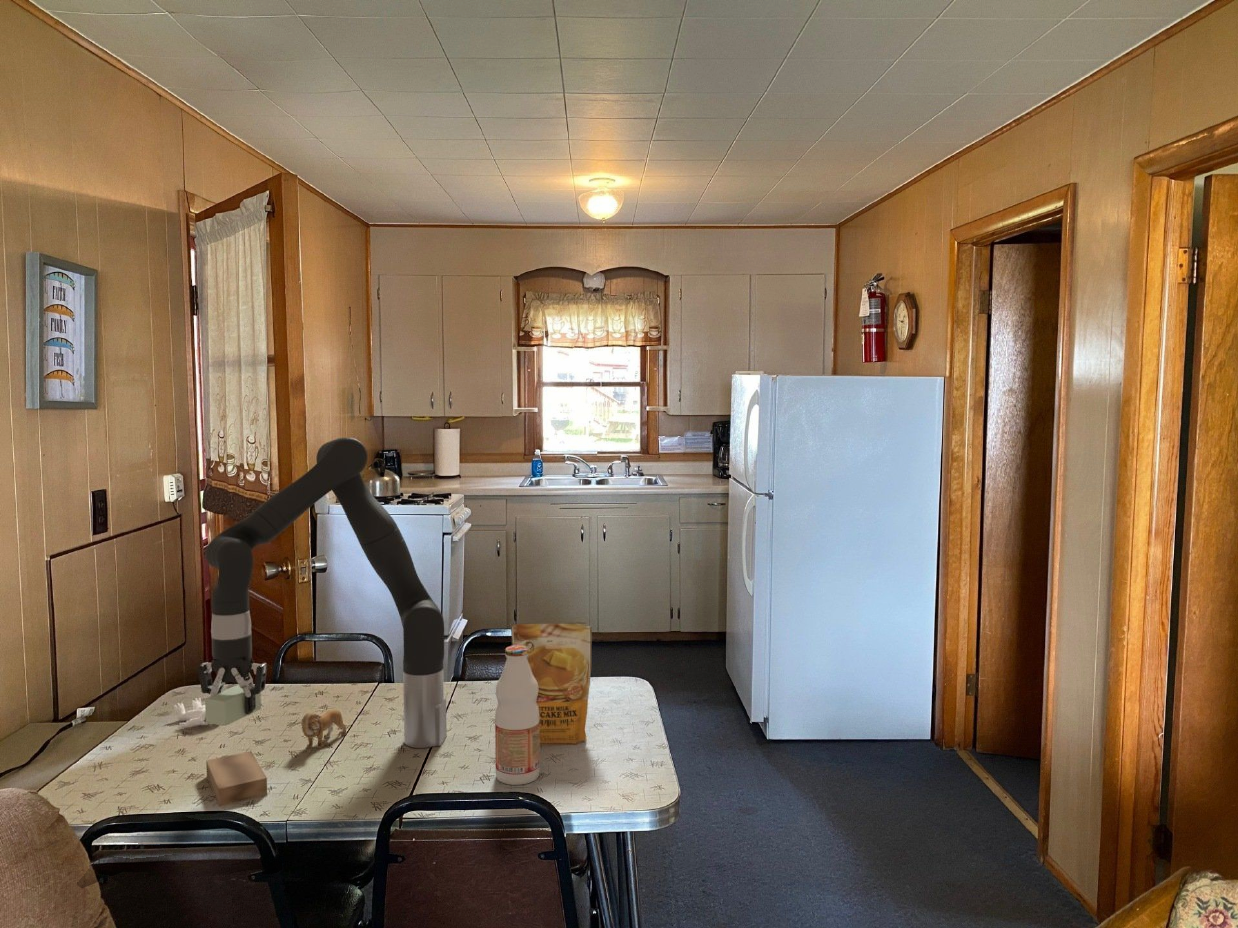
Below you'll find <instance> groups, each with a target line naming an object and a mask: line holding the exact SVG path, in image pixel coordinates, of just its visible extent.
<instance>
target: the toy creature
mask: <svg viewBox="0 0 1238 928" xmlns="http://www.w3.org/2000/svg"><path fill="white" fill-rule="evenodd" d="M176 704H177V705H176ZM176 704H173V710H174V712H175V714H176V716H177V720H179V721H180V722H179V723H178V724H179V725H177V724H176V725H175V727H176V729H178V730H183V729H185V728H191V727H198V726H207V725H209V724H210V723H206V713H205V704H203V705H202V699H201V697H199V698H197V697H195V699H192V700H191V704H192V709H191V710H187V711H186V708H185V706H184V705H185V704H183V702H180V703H179V702H177V703H176ZM184 721H185V722H184Z"/></svg>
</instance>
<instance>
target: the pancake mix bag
mask: <svg viewBox="0 0 1238 928" xmlns="http://www.w3.org/2000/svg"><path fill="white" fill-rule="evenodd" d="M592 632H593V630H592V626H591V625H589V626H588V625H587V622H581V621H579V622H577V621H576V622H551V621H550V622H526V623H525V622H524V623H523V622H522V623H516V624H514V625H513V626H511V627H510V634H511V646H514V645H521V646H526V647H528V651H529V653H528V656H527V660H528V663H529V666H530V668H531V671H532V674H533V676H534V677H535V679H536V680H537V683H538V688H539V691H538V696H537V700H536V702H537V705H538V708H539V719H540V720H539V740H540V745H541V746H548V745H549V746H551V745H552V746H553V745H554V746H555V745H558V746H559V745H561V746H562V745H565V746H567V745H568V746H569V745H578V744H579V743H581V742H587V741H588V740H587V734H586V725H587V723H586V722H587V716H588V708H589V707H588V705H589V694H590V685H591V673H592V650H593V649H592V644H593V643H592V642H593V633H592Z"/></svg>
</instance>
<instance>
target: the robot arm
mask: <svg viewBox="0 0 1238 928" xmlns="http://www.w3.org/2000/svg"><path fill="white" fill-rule="evenodd" d="M315 460H316V464H315V465H314V466H313V467H312V468H311V469H309V470H308V471H307V472H306V473H304V474H303V475H302V476H300V477H299V478H298V479H295V480H294V482H291V484H289V485H287V486H286V487H284V488H282V489H281V490H279V491H278V492H277V493H276V494H274V495H272V496H271V497H270V498H268V499H267V500H266V501H264V502H263V503H262V504H261V505H259V506H258V507H257V508H256V509H255V510H253V512H251V513H250V514H249V515H248V516H247V517H246V518H244V519H242V520H240V521H238V522H237V523H235V524H234V525H232V526H230V527H228V528H226V529H225V530H223V531H222V532H221V533H219V534H218V535H216V536H215V537H214V538H213V539H212V540H211V541H210V542H209V543H208V545H207V547H206V549H205V553H204V554H205V560H206V562H207V564H209V565H210V566H211V567H213V569H216V570H218V575H217V576H218V578H217V584H216V585H214V587H213V588H212V591H211V611H212V612H211V626H210V627H211V629H210V633H211V656H212V661H211V662H208V661H204V662H203V663H201V664H200V665H198V666H197V667H196V668H197V674H198V679H199V683H200V684H199V685H200V690H201V693H202V694H208V695H210V696H213V695H215V694H217V693H220V692H222V691H223V689H224V686H225V684H227V683H236V684H237V685H239V686H240V688H242V689H243V691H244V693H245V695H246V697H245V714H249V715H252V714H253V713H252V712H253V710H254V709H255V708H256V697H255V696H256V694H259V693H260V692H263V691H264V690H265V689H266V680H267V673H268V666H269V665H268V664H267V662H263V663H255V661H254V659H253V656H252V654H253V643H252V642H253V641H252V640H253V639H252V619H251V617H252V616H251V613H250V594H249V593H250V590H249V589H250V585H251V580H252V576H253V568H254V553H253V549H255V548H256V547H257V546H259V545H265V544H269V543H270V542H271V541H273V540H274V539H275V538H276V537H278V536H279V535H281V533H283V532H284V531H285V530H286V529H287V528H289V526H291V524H293V523H294V522H295V521H296V520H297V519H299V518H300V517H301V516H302V515H303V514H304V513H305V512H307V511H308V510H309V509H310V508H311V507H312V506H313V505H314V504H316V503H317V502H318V501H320V500H321V498H323V497H325V496H326V495H327V494H328V493H330V492H331V491H332V492H333V495H335V497H336V499H337V501H338V503H340V505H341V508H342V509H343V512H344V513H345V516H346V518H347V521H348V522H349V525H350V526H351V528H352V530H353V532H354V534H355V537H356V538H357V541H358V543H359V545H360V547H361V549H362V551H363V553H364V556H365V557H366V558H367V560H368V562H369V564H370V566H371V568H373V570H374V571H375V573H376V574H377V576H378V577H379V578H380V579H381V581H382V582H383V583H384V585H385V586H386V588H387V589H388V591H389V593H390V594H391V598H393V599H392V600H393V602H394V604H395V607H396V609H397V612H398V614H399V617H400V621H401V625H402V629H403V630H402V631H403V633H402V634H403V638H402V639H403V659H402V667H403V668H402V672H403V673H402V676H403V677H402V680H403V681H402V685H403V689H402V690H403V723H404V724H403V736H404V738H403V739H404V741H403V742H404V744H405V745H406V746H407V747H410V748H414V749H415V748H416V749H425V748H433V747H436V746H437V747H439V746H442V745H443V742H444V741H445V739H446V738H447V735H448V734H447V697H445V696H444V694H445V691H444V688H445V687H444V660H445V659H444V658H445V621H444V616H443V614H442V612H441V610H440V607H438V605H437V604H436V602H434V600H433V598H432V597H431V596H430V594H429V593H428V591H427V589H426V588H425V586H424V584H423V583H422V581H421V579H420V577H419V575H418V573H417V570H416V568H415V563H414V562H413V558H412V555H411V553H410V549H409V547H408V545H407V542H406V540H405V539H404V538H405V537H404V536H403V534H402V532H401V530H400V529H399V527H398V525H397V524H398V523H396V521H395V520H394V518H393V517H392V516H391V514H390V513H389V512H388V511H387V510H386V508H384V506H383V505H382V504H381V503H380V502H379V501H378V500H377V499H376V498H375V497H374V496H373V494H372V493H371V491H370V490H369V488H368V486H367V484H366V482H365V481H364V480H365V479H364V478H363V475H362V472H363V470H364V469H365V468H366V465H367V463H368V460H369V458H368V451H367V449H366V447H365V445H364V444H363V443H362V441H360V440H358V439H356V438H354V437H347V436H344V437H338V438H336V439H333V440H329V441H327V442H325V443H323V444H322V445H321V446H320V448H318V450H317V453H316V459H315ZM252 670H253V675H255V679H253V677H252V675H251V673H250V672H252ZM212 672H214V673H215V675H216V677H215V679H214V681H213V678H212ZM251 713H252V714H251Z"/></svg>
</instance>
